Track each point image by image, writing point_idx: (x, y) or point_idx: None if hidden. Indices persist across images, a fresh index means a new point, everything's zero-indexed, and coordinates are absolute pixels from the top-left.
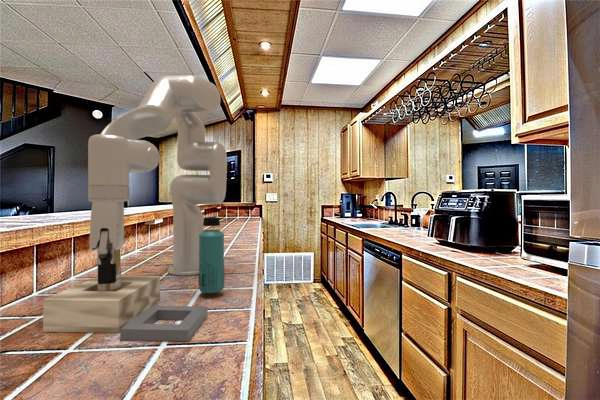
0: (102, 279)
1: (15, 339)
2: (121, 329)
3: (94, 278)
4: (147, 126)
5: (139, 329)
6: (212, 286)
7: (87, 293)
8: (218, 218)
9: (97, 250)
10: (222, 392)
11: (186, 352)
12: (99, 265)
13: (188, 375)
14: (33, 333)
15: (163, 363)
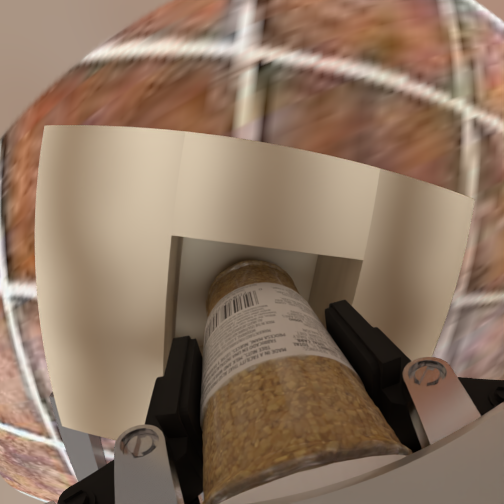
0: (159, 378)
1: (58, 100)
2: (50, 397)
3: (425, 188)
4: None
5: (59, 429)
6: None
7: (123, 290)
8: None
9: (239, 493)
10: (2, 476)
11: (54, 468)
12: (159, 420)
13: (10, 461)
14: (90, 119)
15: (19, 443)
